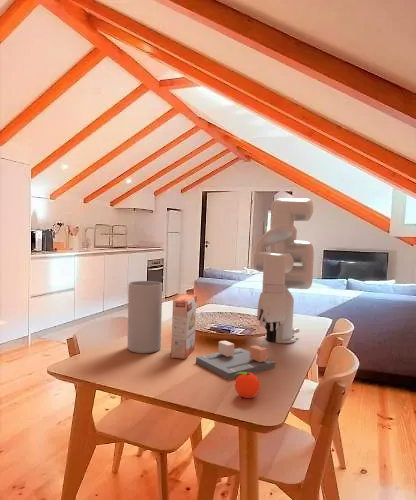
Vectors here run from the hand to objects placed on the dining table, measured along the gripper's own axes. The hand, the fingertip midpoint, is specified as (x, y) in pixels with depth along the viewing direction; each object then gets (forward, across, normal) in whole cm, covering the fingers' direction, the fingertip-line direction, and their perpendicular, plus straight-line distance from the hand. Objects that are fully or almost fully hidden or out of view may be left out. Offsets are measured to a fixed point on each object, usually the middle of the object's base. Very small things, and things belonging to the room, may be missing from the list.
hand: (271, 341), depth 142 cm
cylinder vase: (+8, +29, -38) cm, 48 cm away
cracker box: (+8, +19, -26) cm, 33 cm away
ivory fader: (+6, +11, -11) cm, 16 cm away
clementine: (+9, +25, +15) cm, 31 cm away
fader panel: (+8, +11, -6) cm, 15 cm away
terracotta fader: (+6, +5, -1) cm, 8 cm away
